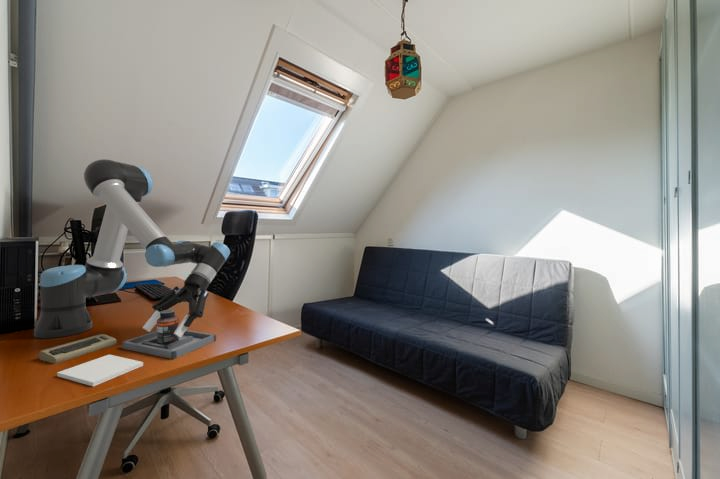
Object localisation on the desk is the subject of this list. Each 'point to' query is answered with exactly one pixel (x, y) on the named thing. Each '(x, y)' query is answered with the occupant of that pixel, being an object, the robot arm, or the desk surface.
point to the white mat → (100, 370)
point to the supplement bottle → (167, 327)
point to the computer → (76, 348)
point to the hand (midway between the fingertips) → (161, 332)
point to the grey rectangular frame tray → (173, 350)
